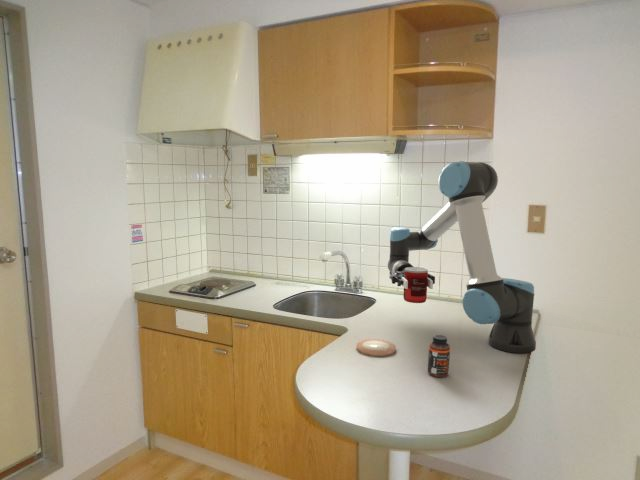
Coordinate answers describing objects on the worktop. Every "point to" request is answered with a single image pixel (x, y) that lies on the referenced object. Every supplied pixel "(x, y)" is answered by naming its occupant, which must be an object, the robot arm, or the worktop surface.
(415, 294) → the canned food
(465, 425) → the worktop surface
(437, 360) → the supplement bottle
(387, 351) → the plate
